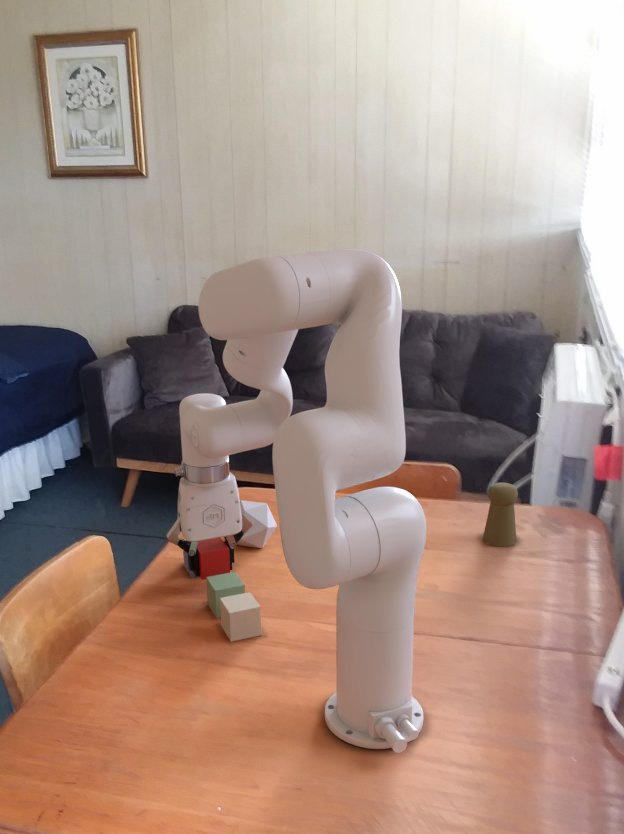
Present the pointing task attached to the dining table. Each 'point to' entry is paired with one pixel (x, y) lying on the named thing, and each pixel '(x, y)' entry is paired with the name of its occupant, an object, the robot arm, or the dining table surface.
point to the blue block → (187, 564)
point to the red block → (213, 557)
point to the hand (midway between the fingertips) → (211, 569)
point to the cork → (501, 515)
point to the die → (257, 524)
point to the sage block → (222, 589)
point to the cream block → (240, 616)
